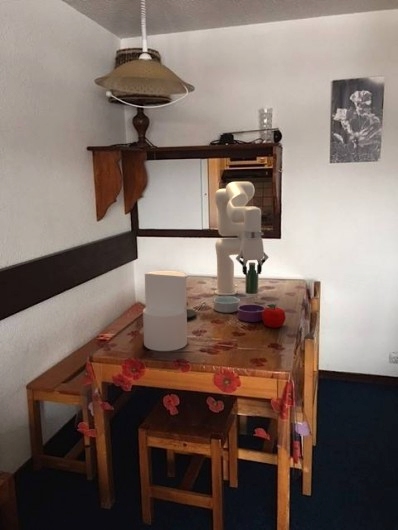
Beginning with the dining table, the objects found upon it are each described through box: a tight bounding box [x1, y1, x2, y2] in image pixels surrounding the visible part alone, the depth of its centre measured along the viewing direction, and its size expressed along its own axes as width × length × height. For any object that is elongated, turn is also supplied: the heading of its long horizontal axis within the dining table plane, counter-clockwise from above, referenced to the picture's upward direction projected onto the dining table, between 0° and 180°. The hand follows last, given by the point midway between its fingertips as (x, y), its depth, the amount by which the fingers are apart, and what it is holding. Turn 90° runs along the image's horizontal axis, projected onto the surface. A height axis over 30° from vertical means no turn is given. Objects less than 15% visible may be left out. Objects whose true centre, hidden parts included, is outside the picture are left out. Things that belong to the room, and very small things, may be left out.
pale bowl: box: [213, 296, 241, 314], centre depth 229 cm, size 13×13×5 cm
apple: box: [262, 303, 287, 329], centre depth 203 cm, size 11×11×10 cm
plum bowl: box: [237, 303, 266, 323], centre depth 214 cm, size 13×13×5 cm
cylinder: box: [142, 270, 188, 352], centre depth 181 cm, size 17×17×28 cm
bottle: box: [244, 261, 260, 295], centre depth 210 cm, size 6×6×14 cm
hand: (252, 273), depth 210 cm, fingers closed on bottle, 6 cm apart
